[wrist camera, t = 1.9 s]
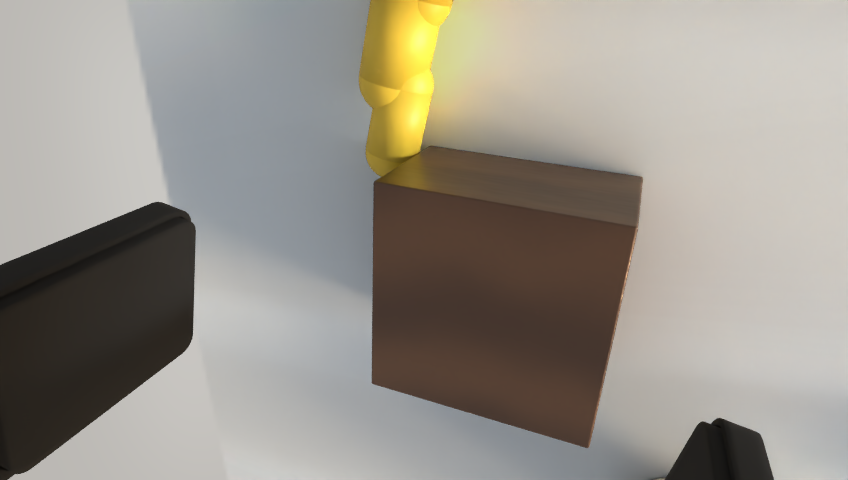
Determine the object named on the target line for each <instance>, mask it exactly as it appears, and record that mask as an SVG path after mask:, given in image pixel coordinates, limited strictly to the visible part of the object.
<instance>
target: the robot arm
mask: <svg viewBox="0 0 848 480" xmlns="http://www.w3.org/2000/svg"><path fill="white" fill-rule="evenodd" d="M195 236H196V230H195V226H194V224H193V223H192V222H191V218H190V216H189V214H188V213H187V212H185V211H183V210H180V209H178V208H175V207H172V206H170V205H167V204H165V203H162V202H155V203H151V204H149V205H147V206H144V207H142V208H139V209H137V210H134V211H132V212H129V213H127V214H124V215H122V216H120V217H117V218H114V219H112V220H110V221H107V222H105V223H102V224H100V225H97V226H95V227H92V228H90V229H88V230H85V231H83V232H80V233H78V234H76V235H73V236H70V237H68V238H66V239H63V240H60V241H58V242H56V243H53V244H51V245H48V246H46V247H43V248H41V249H39V250H36V251H33V252H31V253H29V254H26V255H24V256H21V257H19V258H16V259H14V260H11V261H9V262H6V263H4V264H2V265H0V480H7V479H9V478H10V477H12V476H13V475H14V474H21V473H24V472H26V471H28V470H30V469H31V468H32V467H34V466H35V465H37V464H38V463H39V462H40V461H41V460H43V459H44V458H46V457H47V456H48V455H50V454H51V453H52V452H54V451H55V450H56V449H58V448H59V447H60V446H61V445H63V444H64V443H65V442H67V441H68V440H69V439H71V438H72V437H73V436H74V435H76V434H77V433H79V432H80V431H81V430H82V429H84V428H85V427H86V426H87V425H89V424H90V423H92V422H93V421H94V420H96V419H97V418H98V417H99V416H101V415H102V414H103V413H105V412H106V411H107V410H109V409H110V408H111V407H112V406H114V405H115V404H116V403H118V402H119V401H120V400H122V399H123V398H124V397H126V396H127V395H128V394H130V393H131V392H132V391H134V390H135V389H136V388H137V387H139V386H140V385H141V384H143V383H144V382H145V381H146V380H148V379H149V378H151V377H152V376H153V375H155V374H156V373H157V372H159V371H160V370H161V369H162V368H164V367H165V366H166V365H168V364H169V363H170V362H172V361H173V360H174V359H176V358H177V357H178V356H180V355H181V354H182V353H183V352H184V351H185V350H186V349H187V348H188V346H189V344H190V343H191V340H192V336H193V310H194V273H195ZM665 480H774V478H773V475H772V471H771V468H770V464H769V460H768V457H767V453H766V450H765V446H764V443H763V439H762V437H761V435H760V434H759V433H757V432H755V431H753V430H750V429H747V428H745V427H742V426H740V425H737V424H735V423H732V422H729V421H727V420H724V419H722V418H717V419H716V420H714V421H713V422H712V424H708V423H706V422H700V423H699V424H698V425H697V427H696V428H695V430H694V431H693V433H692V435H691V437H690V438H689V440H688V442H687V443H686V445H685V447H684V448H683V450H682V452H681V453H680V455H679V457H678V459H677V460H676V462H675V464H674V465H673V467H672V469H671V470H670V472H669V474H668V475H667V477H666V479H665Z"/></svg>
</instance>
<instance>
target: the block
mask: <svg viewBox="0 0 848 480" xmlns="http://www.w3.org/2000/svg"><path fill="white" fill-rule="evenodd" d="M642 182H643V178H642V177H639V176H633V175H626V174H619V173H612V172H605V171H598V170H592V169H585V168H578V167H571V166H564V165H557V164H551V163H544V162H537V161H530V160H523V159H516V158H510V157H503V156H496V155H489V154H482V153H475V152H469V151H462V150H455V149H448V148H441V147H434V146H429V147H428V148H426V149H425V150H423V151H421V152H420V153H418V154H417V155H415V156H414V157H412V158H411V159H409V160H407V161H406V162H404V163H403V164H401V165H400V166H398V167H396V168H395V169H393V170H392V171H390V172H389V173H387V174H385V175H384V176H382V177H381V178H379V179H378V180H376V181H375V182H374V209H373V312H372V384H375V385H378V386H381V387H385V388H388V389H391V390H395V391H398V392H402V393H405V394H408V395H412V396H415V397H418V398H422V399H425V400H428V401H432V402H435V403H438V404H442V405H445V406H448V407H452V408H455V409H458V410H462V411H465V412H468V413H472V414H475V415H478V416H482V417H485V418H488V419H492V420H495V421H498V422H502V423H505V424H508V425H512V426H515V427H518V428H522V429H525V430H528V431H532V432H535V433H538V434H542V435H545V436H548V437H552V438H555V439H558V440H562V441H565V442H568V443H572V444H575V445H578V446H582V447H585V448H588V447H589V446H590V441H591V437H592V432H593V428H594V424H595V419H596V415H597V410H598V406H599V401H600V397H601V392H602V388H603V383H604V379H605V374H606V370H607V365H608V361H609V356H610V352H611V347H612V343H613V338H614V334H615V329H616V325H617V320H618V316H619V311H620V307H621V302H622V298H623V294H624V289H625V285H626V280H627V276H628V271H629V267H630V262H631V258H632V253H633V249H634V244H635V240H636V235H637V231H638V223H639V213H640V203H641V192H642Z"/></svg>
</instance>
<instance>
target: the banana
mask: <svg viewBox="0 0 848 480" xmlns="http://www.w3.org/2000/svg"><path fill="white" fill-rule="evenodd" d="M452 2H453V0H371V1H370V8H369V14H368V20H367V27H366V33H365V40H364V46H363V53H362V59H361V65H360V72H359V86H360V91H361V93H362V96H363V97H364V99H365V101H366V102H367V103H368V104H369V105H370V107H372V108H373V109H372V115H371V121H370V127H369V133H368V138H367V144H366V159H367V162H368V164H369V166H370V167H371V169H372V170H373V171H374V172H375V173H376V174H377V175H379V176H381V177H382V176H384V175H385V174H387V173H389V172H390V171H392V170H393V169H395V168H396V167H398V166H400V165H401V164H403V163H404V162H406V161H407V160H409V159H411V158H412V157H414V156H415V155H417V154H418V153H420V148H421V143H422V139H423V134H424V130H425V125H426V121H427V116H428V112H429V107H430V102H431V98H432V93H433V87H434V82H433V76H432V73H431V71H430V68H431V63H432V58H433V54H434V49H435V44H436V40H437V35H438V30H439V26H440V25H441V24H442V23H443V22H444V21H445V19H446V18H447V16H448V14H449V12H450V10H451V6H452Z"/></svg>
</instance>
